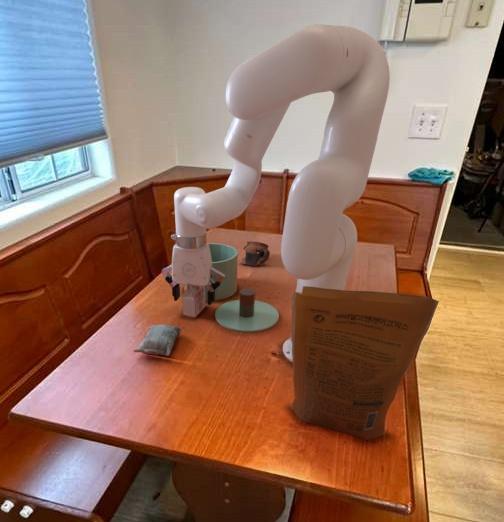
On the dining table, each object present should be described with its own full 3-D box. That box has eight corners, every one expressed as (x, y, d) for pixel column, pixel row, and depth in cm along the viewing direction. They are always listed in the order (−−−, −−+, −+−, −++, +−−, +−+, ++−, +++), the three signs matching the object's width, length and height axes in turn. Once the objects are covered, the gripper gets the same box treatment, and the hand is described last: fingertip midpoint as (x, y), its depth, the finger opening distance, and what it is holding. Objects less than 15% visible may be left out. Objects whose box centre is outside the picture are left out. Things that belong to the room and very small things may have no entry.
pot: (230, 304, 114) (230, 265, 107) (177, 298, 119) (174, 260, 112) (242, 281, 126) (243, 245, 120) (193, 277, 131) (192, 241, 125)
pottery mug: (234, 263, 140) (239, 240, 139) (254, 269, 145) (259, 246, 144) (257, 265, 130) (263, 239, 129) (277, 271, 135) (283, 247, 134)
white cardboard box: (183, 316, 110) (181, 283, 104) (193, 305, 114) (192, 273, 109) (195, 319, 108) (194, 285, 103) (205, 307, 113) (204, 275, 108)
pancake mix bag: (390, 455, 66) (441, 307, 51) (277, 421, 74) (292, 284, 59) (393, 428, 71) (440, 286, 56) (287, 399, 79) (303, 267, 64)
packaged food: (134, 359, 94) (132, 342, 91) (149, 333, 103) (148, 316, 100) (170, 363, 92) (169, 345, 89) (182, 336, 101) (181, 319, 99)
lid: (273, 338, 98) (275, 311, 94) (207, 329, 103) (206, 303, 99) (282, 306, 111) (285, 281, 107) (223, 300, 116) (224, 275, 112)
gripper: (153, 242, 100) (159, 303, 109) (221, 247, 94) (220, 311, 104) (164, 233, 106) (169, 291, 115) (228, 237, 100) (227, 298, 110)
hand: (193, 300), depth 109 cm, fingers open, 9 cm apart
